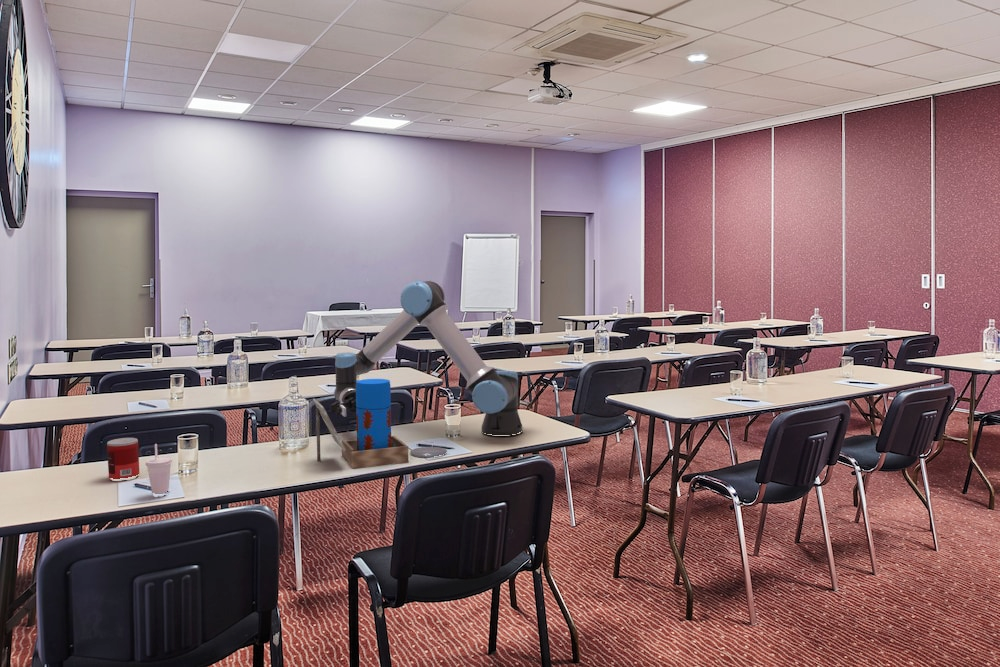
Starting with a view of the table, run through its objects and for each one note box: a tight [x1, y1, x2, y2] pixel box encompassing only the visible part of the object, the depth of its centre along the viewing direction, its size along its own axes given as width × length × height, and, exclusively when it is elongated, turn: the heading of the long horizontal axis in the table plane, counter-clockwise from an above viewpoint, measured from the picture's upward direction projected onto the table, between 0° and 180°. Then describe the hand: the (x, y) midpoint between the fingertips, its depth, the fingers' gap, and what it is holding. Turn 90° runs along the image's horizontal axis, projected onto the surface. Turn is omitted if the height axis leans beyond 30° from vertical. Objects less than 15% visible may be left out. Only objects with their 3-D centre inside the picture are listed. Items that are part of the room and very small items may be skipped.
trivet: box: [409, 446, 448, 459], centre depth 232 cm, size 12×12×1 cm
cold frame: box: [312, 398, 409, 470], centre depth 222 cm, size 26×16×20 cm, turn 114°
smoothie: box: [145, 443, 173, 494], centre depth 188 cm, size 6×6×14 cm
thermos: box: [355, 378, 392, 451], centre depth 223 cm, size 11×11×25 cm
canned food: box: [106, 437, 140, 479], centre depth 204 cm, size 8×8×11 cm
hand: (366, 410), depth 231 cm, fingers open, 13 cm apart
